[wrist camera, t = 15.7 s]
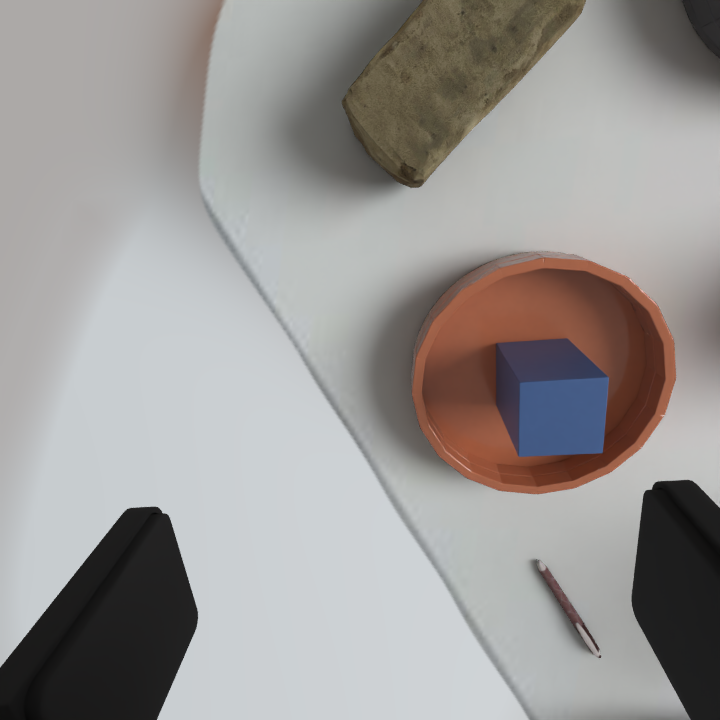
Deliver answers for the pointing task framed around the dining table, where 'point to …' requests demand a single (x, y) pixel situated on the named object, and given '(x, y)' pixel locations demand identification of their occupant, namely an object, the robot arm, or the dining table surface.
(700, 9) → the charcoal bowl
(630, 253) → the dining table surface
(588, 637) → the pen
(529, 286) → the terracotta bowl
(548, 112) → the dining table surface
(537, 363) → the blue block
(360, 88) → the stone block
